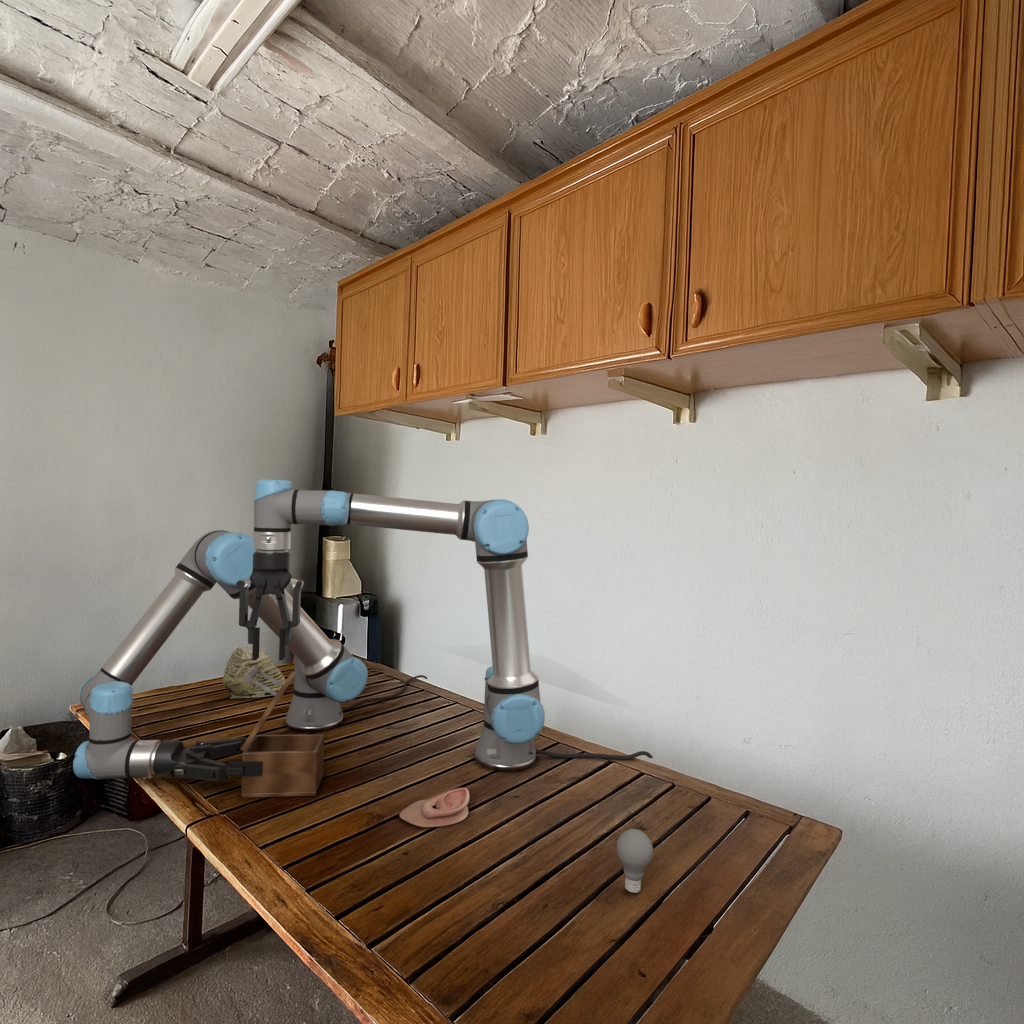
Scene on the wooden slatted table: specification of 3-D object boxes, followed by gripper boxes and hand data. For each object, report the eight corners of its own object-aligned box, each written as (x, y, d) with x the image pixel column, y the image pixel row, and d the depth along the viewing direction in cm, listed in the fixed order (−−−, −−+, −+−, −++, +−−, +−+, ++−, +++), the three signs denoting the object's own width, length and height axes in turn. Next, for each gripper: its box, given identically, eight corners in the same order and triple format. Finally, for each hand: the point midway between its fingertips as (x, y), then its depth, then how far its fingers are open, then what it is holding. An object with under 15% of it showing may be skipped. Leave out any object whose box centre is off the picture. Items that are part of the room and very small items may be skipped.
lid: (296, 673, 143) (261, 653, 141) (287, 686, 133) (249, 665, 131) (257, 733, 142) (221, 713, 141) (244, 751, 132) (206, 730, 131)
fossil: (218, 695, 195) (220, 647, 195) (278, 685, 208) (279, 640, 207) (228, 703, 189) (230, 653, 188) (289, 692, 201) (290, 645, 201)
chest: (323, 774, 144) (324, 733, 144) (315, 795, 134) (316, 751, 134) (254, 776, 142) (255, 735, 142) (241, 797, 132) (242, 753, 132)
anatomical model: (393, 802, 124) (414, 778, 135) (393, 823, 124) (413, 796, 135) (459, 812, 121) (474, 786, 132) (458, 833, 121) (473, 805, 133)
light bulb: (610, 879, 108) (613, 822, 108) (644, 879, 109) (647, 822, 109) (619, 902, 102) (622, 840, 102) (655, 901, 103) (658, 840, 103)
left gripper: (178, 754, 146) (279, 753, 149) (133, 802, 123) (253, 799, 126) (179, 722, 145) (280, 722, 148) (135, 763, 123) (254, 762, 126)
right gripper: (222, 551, 131) (219, 663, 132) (311, 553, 134) (308, 663, 134) (233, 548, 139) (230, 654, 139) (317, 550, 141) (314, 654, 142)
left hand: (268, 757), depth 137 cm, fingers closed on chest, 10 cm apart
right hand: (268, 658), depth 137 cm, fingers open, 5 cm apart
